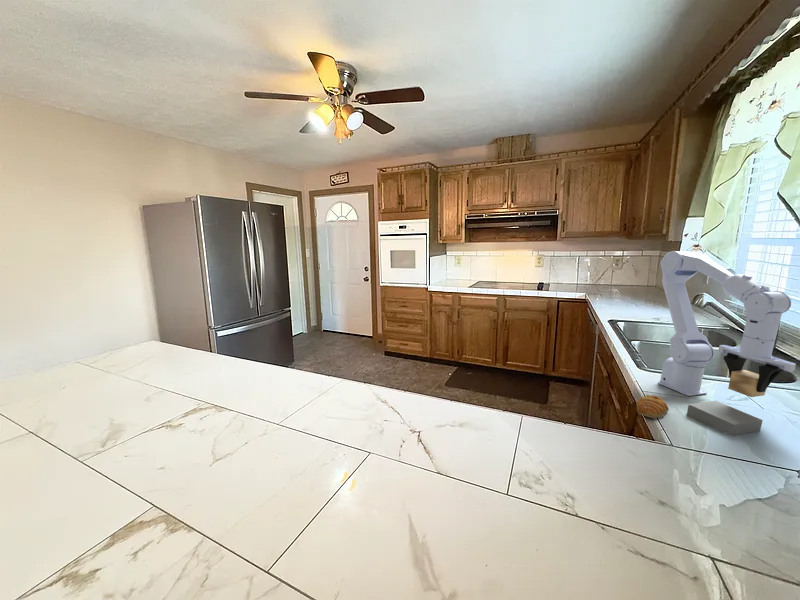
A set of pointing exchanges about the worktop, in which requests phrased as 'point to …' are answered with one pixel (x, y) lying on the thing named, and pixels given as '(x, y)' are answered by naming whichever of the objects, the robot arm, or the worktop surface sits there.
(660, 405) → the pastry
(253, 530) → the worktop surface
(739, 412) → the gray block
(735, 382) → the oak block
